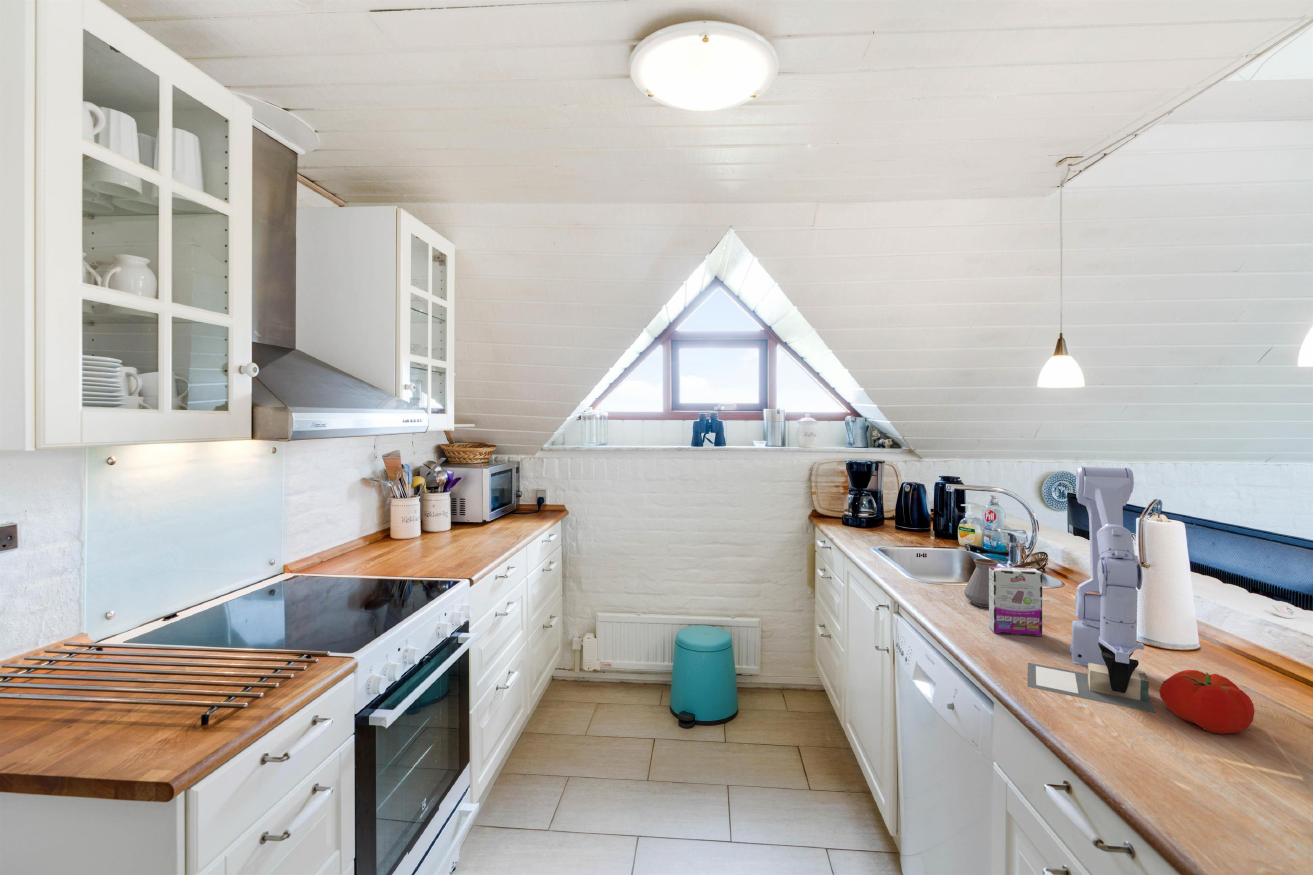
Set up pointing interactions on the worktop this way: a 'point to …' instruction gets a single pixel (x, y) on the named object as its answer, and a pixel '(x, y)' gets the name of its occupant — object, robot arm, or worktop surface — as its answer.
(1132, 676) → the green and cream block
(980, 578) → the coffee pot
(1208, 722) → the tomato
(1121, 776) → the worktop surface
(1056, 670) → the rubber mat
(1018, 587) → the candy bar box
